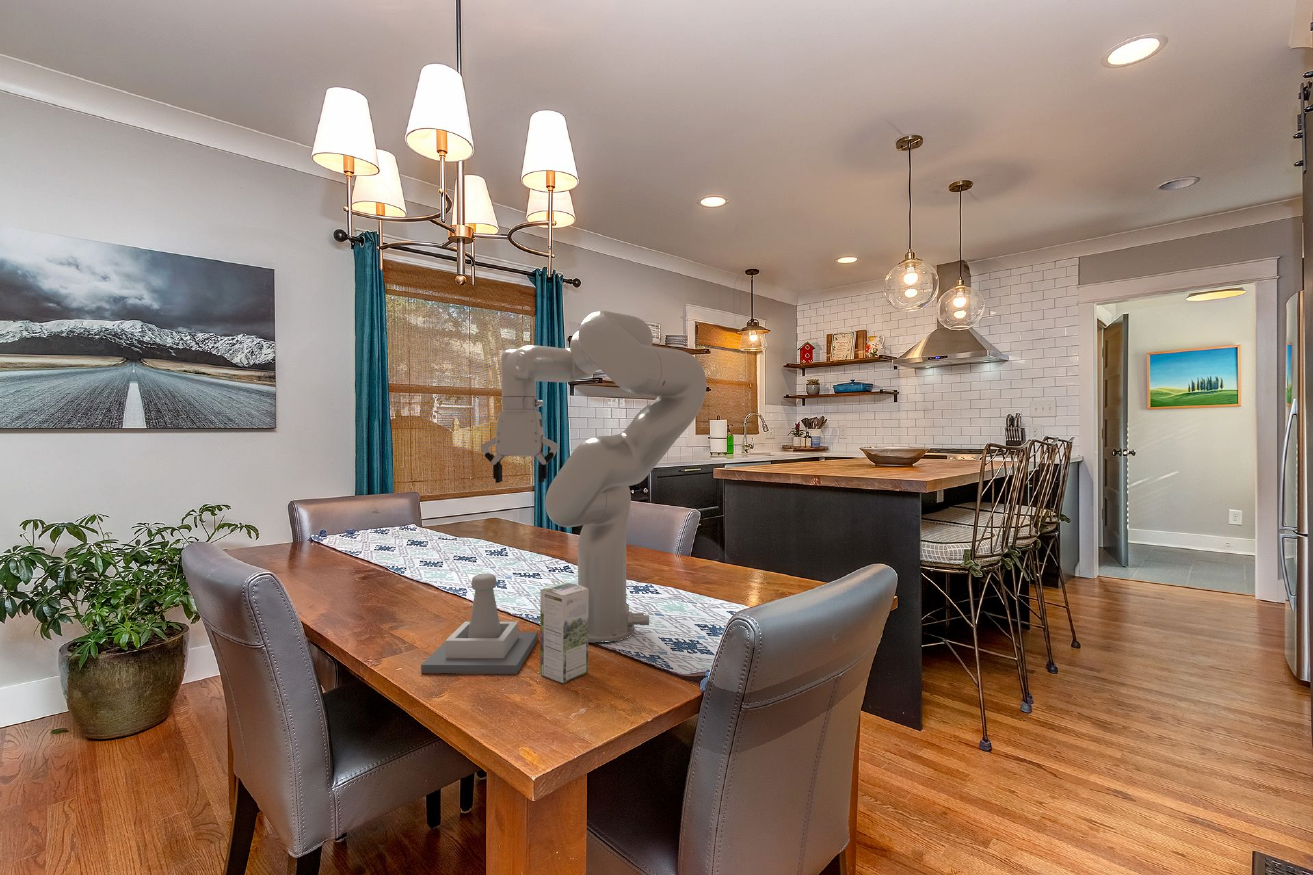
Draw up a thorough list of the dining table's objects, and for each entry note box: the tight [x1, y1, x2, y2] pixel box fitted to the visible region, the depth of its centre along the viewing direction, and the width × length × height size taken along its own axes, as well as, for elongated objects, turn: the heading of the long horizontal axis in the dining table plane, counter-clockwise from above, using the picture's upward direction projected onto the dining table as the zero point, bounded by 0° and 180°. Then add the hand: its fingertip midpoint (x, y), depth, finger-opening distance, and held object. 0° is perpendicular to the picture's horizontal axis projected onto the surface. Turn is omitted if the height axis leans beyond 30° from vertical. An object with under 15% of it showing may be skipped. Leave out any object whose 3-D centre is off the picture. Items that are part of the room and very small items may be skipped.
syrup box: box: [539, 582, 589, 684], centre depth 101 cm, size 6×6×14 cm
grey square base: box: [420, 620, 539, 675], centre depth 110 cm, size 16×16×4 cm
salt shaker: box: [468, 573, 501, 638], centre depth 110 cm, size 6×6×13 cm
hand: (520, 482), depth 137 cm, fingers open, 9 cm apart
